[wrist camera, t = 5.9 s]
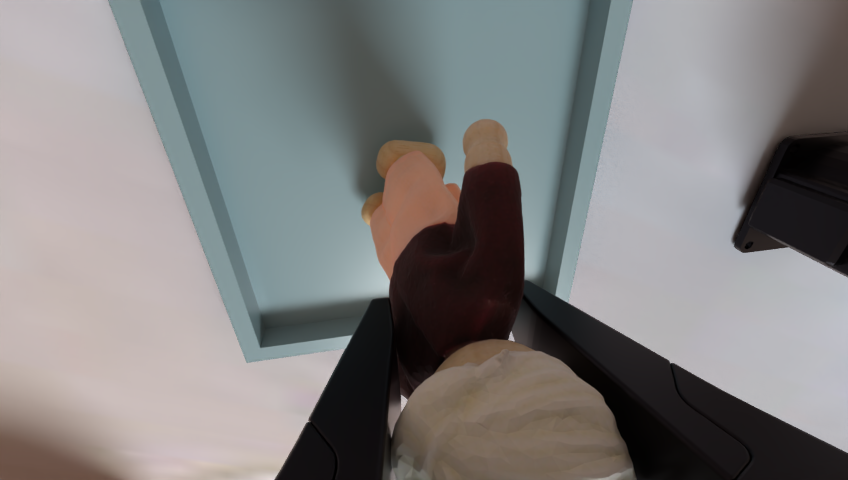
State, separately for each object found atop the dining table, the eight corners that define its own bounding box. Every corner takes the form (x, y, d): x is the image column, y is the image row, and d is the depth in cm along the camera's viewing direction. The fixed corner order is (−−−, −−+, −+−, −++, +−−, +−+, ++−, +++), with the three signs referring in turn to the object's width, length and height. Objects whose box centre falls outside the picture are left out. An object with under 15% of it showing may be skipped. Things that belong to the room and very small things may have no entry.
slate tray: (614, -63, 13) (649, -74, 12) (549, 295, 21) (565, 317, 20) (116, -62, 11) (79, -75, 10) (254, 335, 19) (246, 362, 18)
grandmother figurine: (433, 262, 17) (580, 662, 7) (349, 257, 16) (364, 716, 6) (477, 87, 14) (955, 356, 3) (371, 67, 13) (527, 363, 2)
